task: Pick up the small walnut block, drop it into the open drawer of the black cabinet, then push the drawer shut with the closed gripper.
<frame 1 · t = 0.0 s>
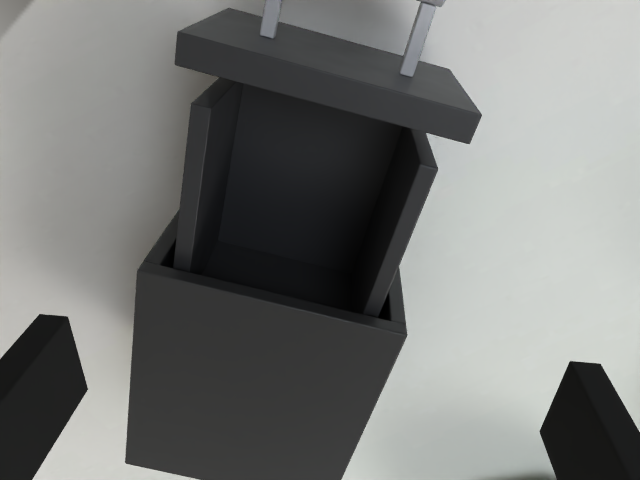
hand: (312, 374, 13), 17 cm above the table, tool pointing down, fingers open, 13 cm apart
cabinet: (275, 296, 34), on the table
drawer: (312, 152, 23), point 5 cm above the table, slide at 9.0 cm
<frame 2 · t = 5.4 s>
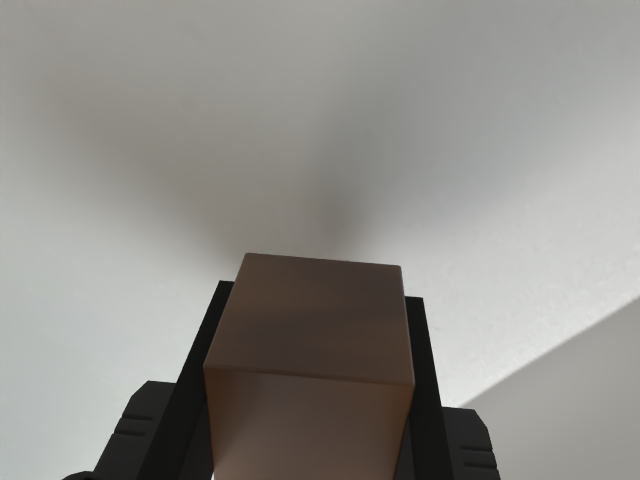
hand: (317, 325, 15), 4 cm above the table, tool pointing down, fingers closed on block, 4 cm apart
block: (318, 318, 15), point 3 cm above the table, touching gripper
when the fingers open (6 cm above the table, at t = 10.9 s): block drops 3 cm, resting on drawer.
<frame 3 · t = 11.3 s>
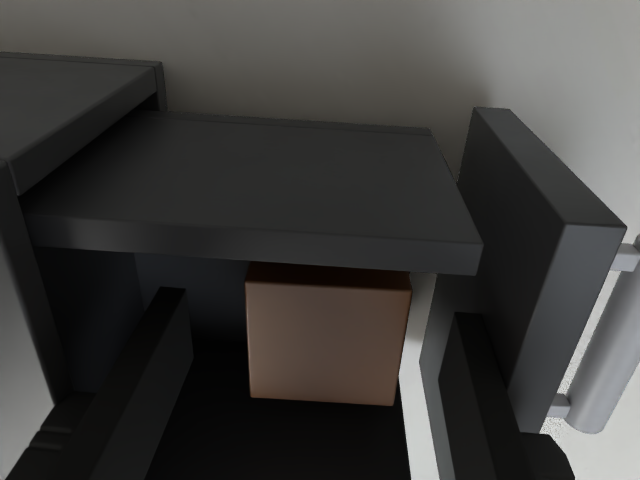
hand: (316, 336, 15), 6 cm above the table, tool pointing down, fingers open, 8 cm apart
block: (328, 262, 18), point 2 cm above the table, touching drawer
cabinet: (1, 212, 20), on the table
drawer: (353, 312, 16), point 5 cm above the table, slide at 10.4 cm, touching block, gripper
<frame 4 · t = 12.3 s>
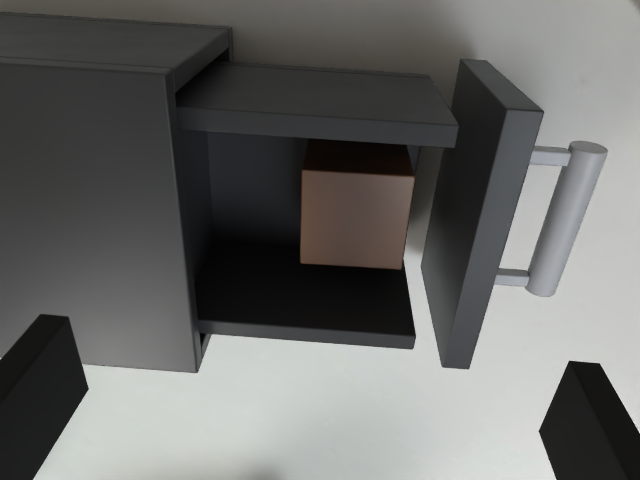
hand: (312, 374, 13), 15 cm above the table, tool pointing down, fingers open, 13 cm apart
block: (353, 178, 24), point 2 cm above the table, touching drawer
cabinet: (101, 144, 26), on the table
drawer: (373, 205, 22), point 5 cm above the table, slide at 10.5 cm, touching block
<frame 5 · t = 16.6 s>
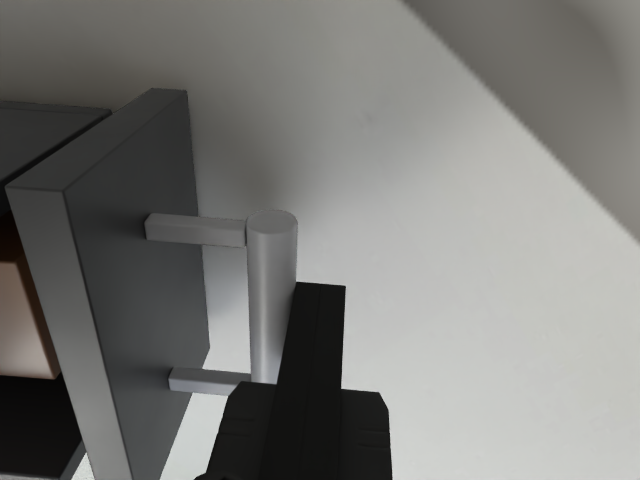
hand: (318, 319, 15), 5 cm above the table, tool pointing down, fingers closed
block: (47, 242, 18), point 2 cm above the table, touching drawer
drawer: (24, 288, 16), point 5 cm above the table, slide at 9.4 cm, touching block, gripper
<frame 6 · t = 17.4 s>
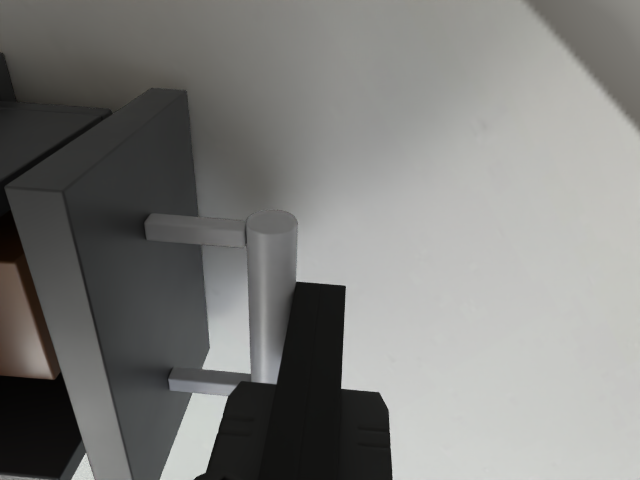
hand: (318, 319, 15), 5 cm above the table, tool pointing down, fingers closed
block: (46, 242, 18), point 2 cm above the table, touching drawer
drawer: (24, 288, 16), point 5 cm above the table, slide at 5.4 cm, touching block, gripper
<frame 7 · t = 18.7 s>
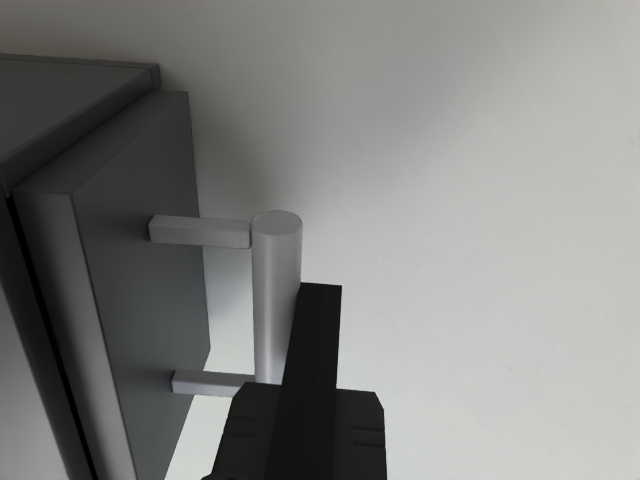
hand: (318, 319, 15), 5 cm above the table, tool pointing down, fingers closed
block: (45, 244, 18), point 2 cm above the table, touching drawer
drawer: (25, 291, 16), point 5 cm above the table, slide at 0.0 cm, touching block, cabinet, gripper
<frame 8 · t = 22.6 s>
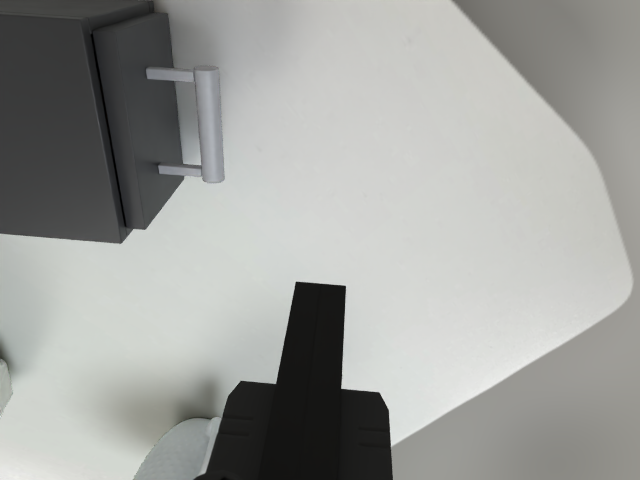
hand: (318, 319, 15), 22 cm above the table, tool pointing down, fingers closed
mug: (208, 430, 54), on the table
cabinet: (63, 91, 35), on the table
drawer: (84, 115, 31), point 5 cm above the table, slide at 0.0 cm, touching block, cabinet
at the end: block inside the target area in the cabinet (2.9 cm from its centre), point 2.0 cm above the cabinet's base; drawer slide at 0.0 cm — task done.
